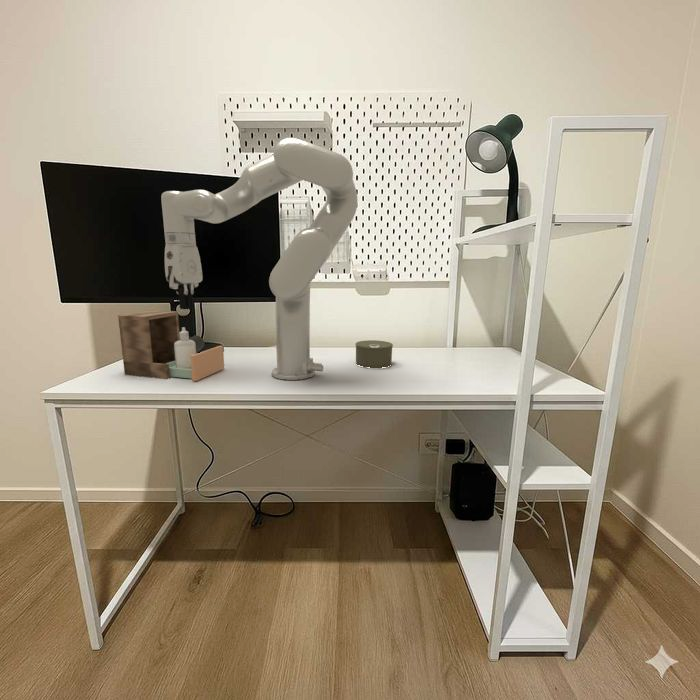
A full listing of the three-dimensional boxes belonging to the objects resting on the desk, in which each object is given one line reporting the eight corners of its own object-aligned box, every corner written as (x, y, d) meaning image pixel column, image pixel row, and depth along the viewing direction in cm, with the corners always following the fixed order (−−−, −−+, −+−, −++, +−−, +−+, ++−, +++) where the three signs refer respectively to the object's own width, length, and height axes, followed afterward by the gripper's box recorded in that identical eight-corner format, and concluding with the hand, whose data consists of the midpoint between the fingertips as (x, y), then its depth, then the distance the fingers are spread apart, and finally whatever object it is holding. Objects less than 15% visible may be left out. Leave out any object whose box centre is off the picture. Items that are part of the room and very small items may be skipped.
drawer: (224, 368, 118) (223, 345, 117) (195, 381, 105) (193, 356, 103) (184, 364, 121) (182, 342, 120) (151, 377, 108) (149, 352, 107)
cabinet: (196, 367, 120) (192, 312, 116) (167, 379, 108) (162, 317, 104) (157, 364, 123) (152, 310, 120) (124, 374, 111) (118, 315, 107)
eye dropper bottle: (192, 370, 111) (189, 328, 108) (173, 370, 111) (169, 328, 108) (199, 366, 115) (196, 326, 113) (180, 366, 115) (177, 325, 113)
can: (390, 360, 133) (391, 340, 131) (393, 369, 121) (394, 348, 120) (355, 359, 133) (355, 340, 131) (354, 369, 121) (355, 347, 120)
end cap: (195, 360, 129) (194, 340, 127) (173, 360, 128) (172, 340, 127) (205, 353, 138) (204, 335, 137) (185, 353, 138) (183, 335, 137)
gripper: (173, 238, 97) (180, 312, 101) (209, 242, 111) (214, 306, 115) (148, 239, 99) (156, 311, 103) (186, 242, 113) (192, 305, 117)
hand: (186, 308), depth 109 cm, fingers closed
